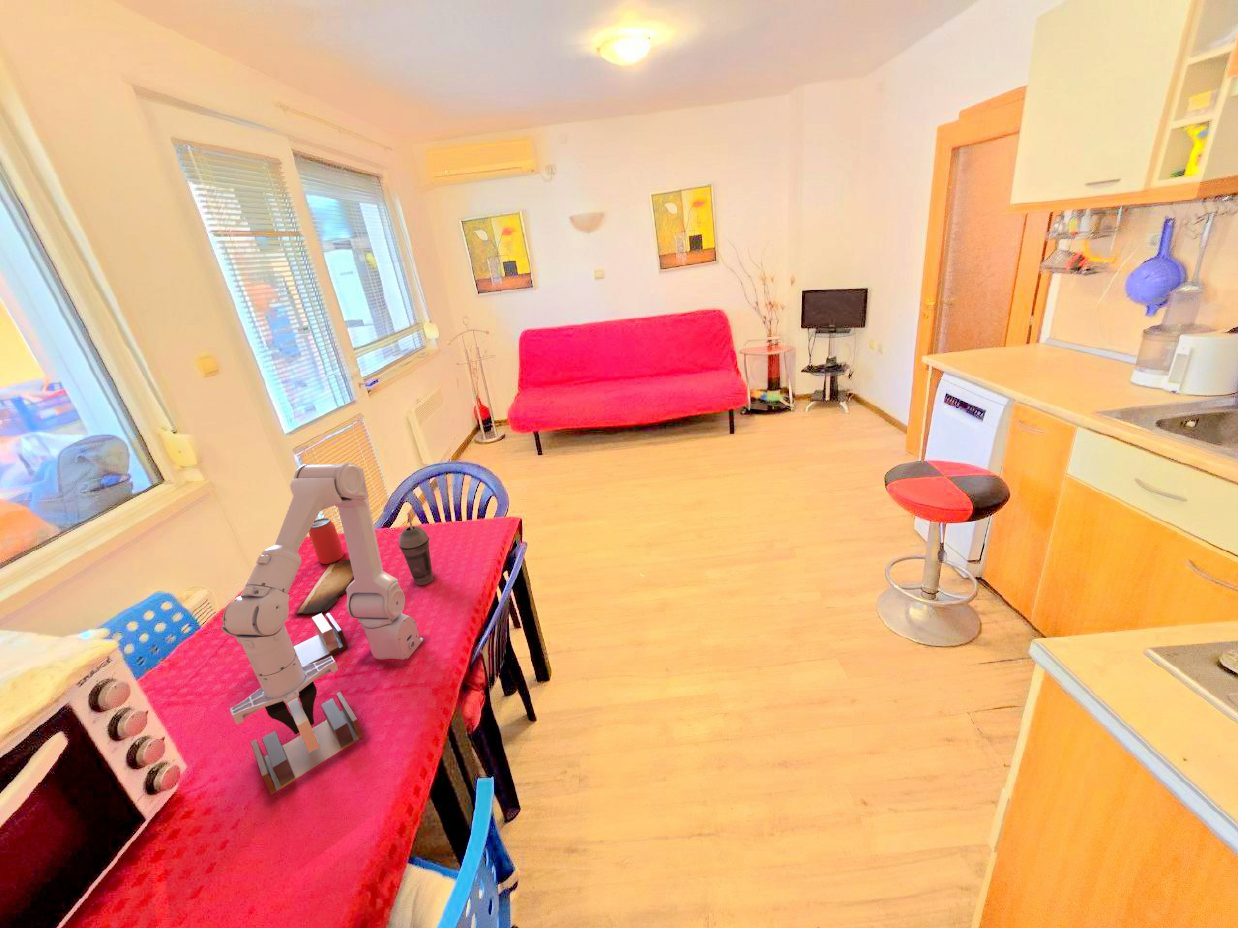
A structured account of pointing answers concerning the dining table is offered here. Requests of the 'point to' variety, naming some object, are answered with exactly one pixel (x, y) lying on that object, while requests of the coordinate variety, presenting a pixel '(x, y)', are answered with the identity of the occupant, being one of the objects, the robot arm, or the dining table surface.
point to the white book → (303, 725)
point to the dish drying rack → (322, 641)
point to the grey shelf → (294, 755)
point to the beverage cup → (417, 553)
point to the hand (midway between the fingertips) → (303, 725)
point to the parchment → (328, 588)
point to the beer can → (326, 541)
